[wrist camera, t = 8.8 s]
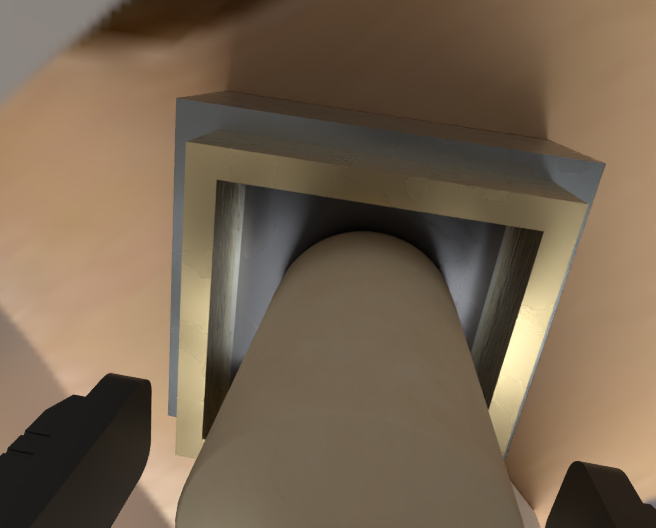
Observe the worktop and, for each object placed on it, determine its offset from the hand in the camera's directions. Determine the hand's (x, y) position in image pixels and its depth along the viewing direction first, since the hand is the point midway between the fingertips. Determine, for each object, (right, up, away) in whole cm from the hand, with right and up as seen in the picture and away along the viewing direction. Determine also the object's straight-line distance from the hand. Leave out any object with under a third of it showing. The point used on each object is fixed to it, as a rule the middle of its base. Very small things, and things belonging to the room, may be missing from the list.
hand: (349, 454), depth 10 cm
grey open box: (+1, +4, +11) cm, 12 cm away
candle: (+1, +2, +6) cm, 7 cm away
